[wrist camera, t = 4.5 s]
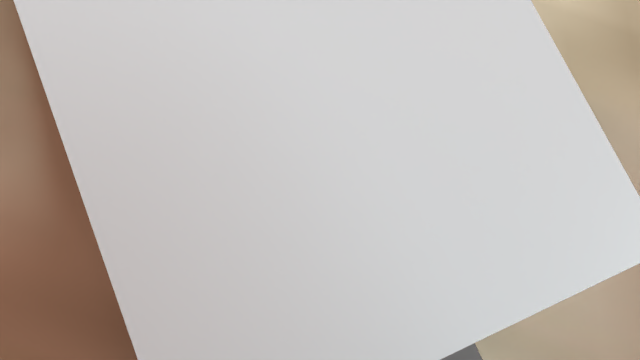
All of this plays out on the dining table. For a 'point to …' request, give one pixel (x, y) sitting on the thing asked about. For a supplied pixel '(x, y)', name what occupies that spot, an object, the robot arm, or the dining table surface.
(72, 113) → the open-bottomed white box
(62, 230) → the dining table surface
